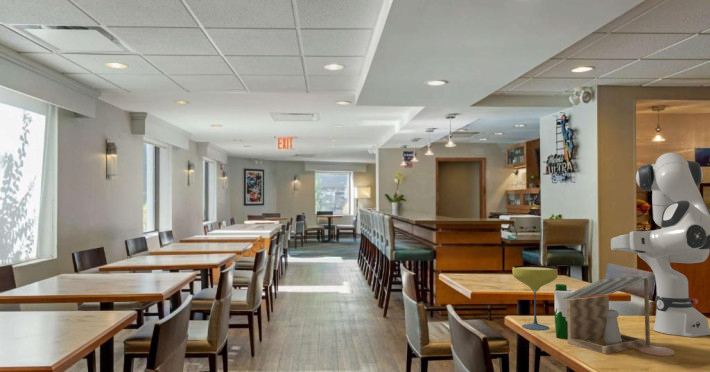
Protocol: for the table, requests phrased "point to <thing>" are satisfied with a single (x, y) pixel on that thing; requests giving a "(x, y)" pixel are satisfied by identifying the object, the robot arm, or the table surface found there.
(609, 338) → the salt shaker
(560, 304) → the milk carton
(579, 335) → the cold frame
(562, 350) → the table surface
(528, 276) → the cocktail glass
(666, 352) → the terracotta saucer
